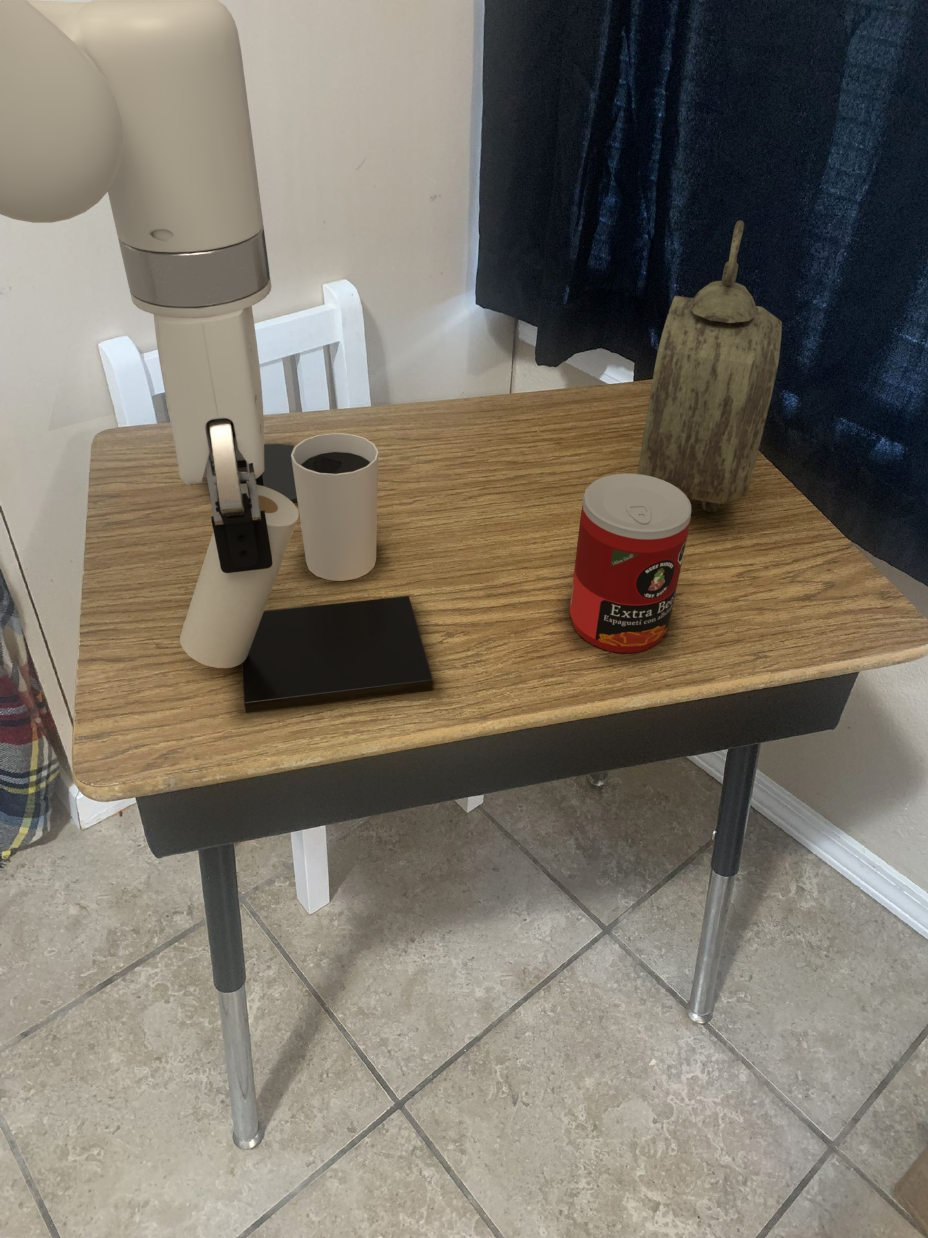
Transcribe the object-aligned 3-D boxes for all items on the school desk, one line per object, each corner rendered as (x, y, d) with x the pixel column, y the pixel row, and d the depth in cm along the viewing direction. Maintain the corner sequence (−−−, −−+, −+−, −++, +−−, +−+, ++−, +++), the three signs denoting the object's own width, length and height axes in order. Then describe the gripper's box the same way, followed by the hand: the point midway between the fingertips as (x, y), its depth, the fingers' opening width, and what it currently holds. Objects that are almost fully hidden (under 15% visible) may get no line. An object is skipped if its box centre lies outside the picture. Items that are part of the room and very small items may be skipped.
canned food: (598, 665, 72) (617, 539, 65) (550, 603, 77) (563, 481, 71) (688, 642, 74) (715, 519, 67) (635, 584, 80) (655, 464, 73)
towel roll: (249, 674, 68) (178, 662, 66) (246, 631, 72) (179, 618, 70) (302, 532, 62) (226, 514, 60) (296, 493, 65) (224, 475, 63)
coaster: (210, 511, 86) (209, 507, 86) (208, 452, 95) (208, 448, 95) (334, 501, 88) (334, 497, 88) (322, 443, 97) (322, 439, 97)
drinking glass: (300, 586, 78) (290, 476, 72) (300, 540, 83) (291, 434, 77) (384, 582, 79) (381, 473, 73) (379, 536, 84) (376, 431, 78)
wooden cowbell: (648, 462, 96) (693, 193, 80) (743, 478, 94) (807, 205, 78) (626, 540, 85) (673, 246, 69) (732, 559, 83) (805, 261, 67)
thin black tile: (245, 713, 67) (243, 703, 66) (240, 623, 74) (238, 613, 74) (433, 690, 69) (433, 679, 68) (409, 605, 77) (409, 595, 76)
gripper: (134, 220, 59) (189, 482, 70) (114, 333, 46) (185, 632, 57) (261, 212, 60) (294, 471, 71) (276, 320, 47) (314, 616, 58)
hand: (245, 540), depth 64 cm, fingers closed on towel roll, 4 cm apart
